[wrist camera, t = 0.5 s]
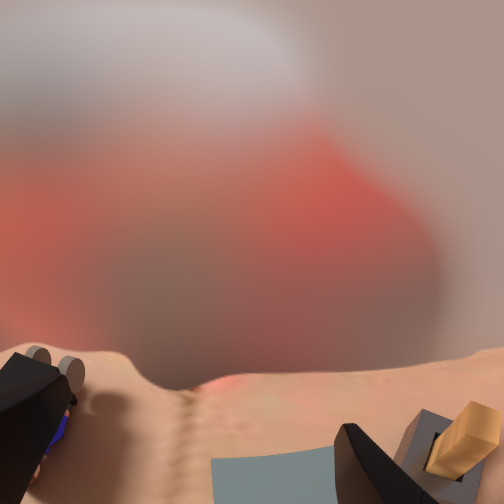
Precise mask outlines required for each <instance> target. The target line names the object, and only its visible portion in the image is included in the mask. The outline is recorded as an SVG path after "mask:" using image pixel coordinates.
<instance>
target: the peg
mask: <svg viewBox="0 0 504 504" xmlns="http://www.w3.org/2000/svg"><path fill="white" fill-rule="evenodd" d="M500 426H501V412H500V411H497V410H495V409H492V408H489V407H486V406H484V405H481V404H478V403H476V402H473V401H471V402H470V403H469V404H468V405H467V407H466V408H465V409H464V410H463V411H462V412H461V414H460V415H459V416H458V417H457V418H456V419H455V420H454V421H453V423H452V424H451V425H450V426H449V427H448V428H447V429H446V430H445V431H444V432H443V433H442V434H441V435H440V436H439V437H438V438H437V439H436V440H435V441H434V442H433V443H432V445H431V448H430V451H429V454H428V457H427V460H426V463H425V465H424V468H423V471H426V472H429V473H432V474H435V475H438V476H441V477H444V478H447V479H450V480H454V481H455V480H456V479H457V478H459V477H460V476H461V475H463V474H464V473H466V472H467V471H468V470H469V469H471V468H472V467H473V466H475V465H476V464H477V463H478V462H480V461H481V460H482V459H483V458H484V457H486V456H487V455H488V454H489V453H490V452H491V451H492V450H494V449H495V448H496V447H497V446H498V445H499V439H500Z"/></svg>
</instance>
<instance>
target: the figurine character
mask: <svg viewBox="0 0 504 504" xmlns="http://www.w3.org/2000/svg"><path fill="white" fill-rule="evenodd" d="M54 372H59V373H61V374H64V375H66V377H67V379H68V382H69V385H70V388H71V391H72V399H71V401H70V403H69V405H68V408H67V410H66V412H65V415H64V417H63V419H62V422H61V424H60V426H59V428H58V430H57V432H56V434H55V436H54V438H53V440H52V442H51V443H50V445H49V446H51V445H52V444H53V443H55V442H56V441H57V440H59V439H60V438H61V437H62V436H63V432H64V428H65V425H66V421H67V417H68V416H69V410H70V408H71V407H72V405H74V406H76V404H77V402H78V401H77V400H76V396H75V395H73V393H77V392H78V391H79V390H80V389H81V387H82V385H83V382H84V378H85V367H84V364H83V362H82V360H80V359H78V358H75V357H71V356H65V357H64V358H62V359H61V361H60V362H59V365H58V367H55V366H52V365H51V356H50V353H49V352H48V350H47V349H45V348H42V347H39V346H31V347H30V348H29V349H28V350H27V352H26V353H25V356H24V355H22V354H19V353H17V352H15V353H14V354H13V355H12V356H11V358H10V359H9V360H8V361H7V362H6V364H5V365H4V366H3V367H2V368H1V370H0V391H2V390H5V389H8V388H11V387H14V386H17V385H20V384H23V383H26V382H29V381H31V380H34V379H37V378H40V377H43V376H45V375H48V374H51V373H54ZM48 452H49V447H48V449H47V451H46V453H45V454H47V453H48ZM39 474H40V464H39V466H38V468H37V470H36V472H35V474H34V476H33V478H32V480H31V482H30V484H29V485H31V484H33V483H34V482H35V481H36V480H37V479H38V477H39Z"/></svg>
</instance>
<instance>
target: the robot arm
mask: <svg viewBox="0 0 504 504" xmlns="http://www.w3.org/2000/svg"><path fill="white" fill-rule="evenodd" d="M71 399H72V391H71V388H70V385H69V382H68V379H67V377H66V375H64V374H61V373H59V372H54V373H51V374H48V375H45V376H43V377H40V378H37V379H34V380H31V381H29V382H26V383H23V384H20V385H17V386H14V387H11V388H8V389H5V390H2V391H0V504H20V503H21V501H22V499H23V496H24V494H25V492H26V490H27V488H28V486H29V484H30V482H31V480H32V478H33V476H34V474H35V472H36V470H37V468H38V466H39V464H40V462H41V460H42V458H43V456H44V454H45V453H46V451H47V449H48V447H49V445H50V443H51V442H52V440H53V438H54V436H55V434H56V432H57V430H58V428H59V426H60V424H61V422H62V419H63V417H64V415H65V412H66V410H67V408H68V405H69V403H70V401H71ZM334 465H335V488H336V495H337V502H338V504H440V503H439V502H438V501H437V500H435V499H434V498H433V497H432V496H431V495H430V494H429V493H427V492H426V491H425V490H423V488H422V487H421V486H420V485H419V484H418V483H416V482H415V481H414V480H413V479H412V478H411V477H410V476H409V475H408V474H407V473H406V472H405V471H404V470H403V469H402V468H400V467H399V466H398V465H397V464H396V463H395V462H394V461H393V460H392V459H391V458H390V457H389V456H388V455H387V454H386V453H385V452H384V451H383V450H382V449H381V448H380V447H379V446H378V445H377V444H376V443H375V442H374V441H373V440H372V439H371V438H370V437H369V436H368V435H367V434H366V433H365V432H364V431H363V430H362V429H361V428H360V427H359V426H358V425H357V424H355V423H345V424H342V425H341V427H340V429H339V432H338V434H337V436H336V438H335V441H334Z"/></svg>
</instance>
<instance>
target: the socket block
mask: <svg viewBox="0 0 504 504" xmlns="http://www.w3.org/2000/svg"><path fill="white" fill-rule="evenodd" d="M452 423H453V420H450V419H447V418H445V417H442V416H440V415H437V414H435V413H432V412H430V411H427V410H425V409H422V410H421V411H420V412H419V414H418V415H417V416H416V417H415V418H414V420H413V421H412V422H411V423H410V424H409V426H408V427H407V428H406V431H405V433H404V436H403V438H402V441H401V443H400V445H399V448H398V450H397V452H396V454H395V457H394V459H393V461H394V462H395V463H396V464H397V465H398V466H399V467H400V468H402V469H403V470H404V471H405V472H406V473H407V474H408V475H409V476H410V477H411V478H412V479H413V480H414V481H415V482H416V483H418V484H419V485H420V486H421V487H422V488H423V490H425V491H426V492H427V493H429V494H430V495H431V496H432V497H433V498H434V499H435V500H437V501H438V502H439V503H440V504H474V502H475V498H476V495H477V491H478V487H479V483H480V479H481V474H482V469H483V464H484V458H485V457H484V458H483V459H482V460H481V461H480V462H478V463H477V464H476V465H475V466H473V467H472V468H471V469H469V470H468V471H467V472H466V473H464V474H463V475H461V476H460V477H459V478H457V479H456V480H455V481H454V480H450V479H447V478H444V477H441V476H438V475H435V474H432V473H429V472H426V471H423V468H424V465H425V463H426V460H427V457H428V454H429V451H430V448H431V445H432V443H433V442H434V441H435V440H436V439H437V438H438V437H439V436H440V435H441V434H442V433H443V432H444V431H445V430H446V429H447V428H448V427H449V426H450V425H451V424H452Z"/></svg>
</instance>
